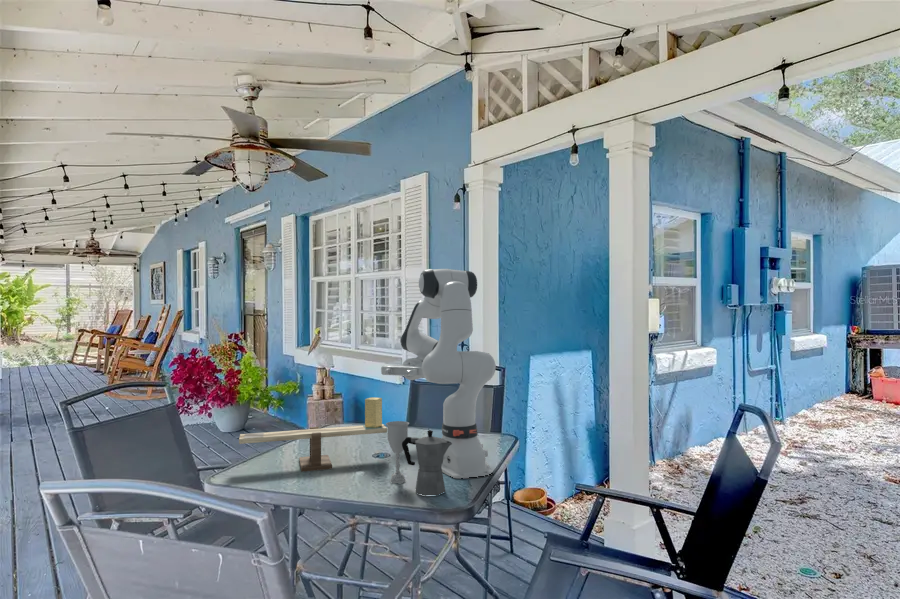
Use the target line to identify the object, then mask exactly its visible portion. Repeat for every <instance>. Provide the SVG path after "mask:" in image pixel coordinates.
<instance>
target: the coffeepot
mask: <svg viewBox="0 0 900 599" xmlns="http://www.w3.org/2000/svg"><path fill="white" fill-rule="evenodd" d="M408 444H411V445H415V450H416V456H417V462H418V471H417V476H416V483H415V489H416V490H415V494H416V493H418V494H422V495H439V494H441V493H443V492H445V493H446V487H445V481H444V473H443V472H442V463H443V457H444V454H445V453H446V451H447V449H448V447H449V446H450V445H452V443H451V442H449V441H446V440H444V439H443V438H442V437H437V436H434V435H433V430H429V429H428V430H427V436H424V437H414V436H413V437H411V436H408V437H406V439H405V440H404V441H403V442H402V447H403V452H404V456H405V459H406V462H407V464H408V465H409V466H415V464H416V462H414V461H412V456H411V454H410V450H409V446H408ZM418 494H417V495H418Z"/></svg>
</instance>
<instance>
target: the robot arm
mask: <svg viewBox="0 0 900 599" xmlns="http://www.w3.org/2000/svg"><path fill="white" fill-rule="evenodd" d="M418 288H419V291H420V294H422V296H424V297H423V299H422V300H421V299H420V300H419V301H417V303H416V304H415V305H414V307H413V310H412V311H411V314H410V317H409V318H408V322H407V325H406V327H405V329H404V331H403V333H402V335H401V337H400V346H401V348H402V349H403V350H404V351H407V352H409V353H412V354H414V355H416V357H411V358H407V359H406V360H404V361H403V363H402V364H385V365H381V368H380V372H381V375H383V376H400V377H402V376H403V377H404V378H405V379H406V380H409V381H414V380H420V379H425V380H426V381H427V382H429V383H433V384H440V385H449V384H453V385H454V384H459V386H458V388H457V390H456V391H455V392H452V394H449V395H448V396H447V397H446V398H445V399H444V401H443V404H442V406H443V407H442V408H443V409H442V412H443V414H442V416H443V417H442V419H443V420H442V423H441V434H442V436H441V438H443V439H444V440H446V441H449V442H451V443H452V445H450V446H449V447H448V449H447V451H446V453H445V454H444V457H443V463H442V473H443V474H445V475H447V476H449V477H450V476H451V478H452V477H453V479H461V478H463V479H470V478H469V477H477V478H479V477H478V476H484V477H486V476H485V475H488V476H490V475H489V474H491V473H492V472H493V473H494V470H493V469H492V467H491V466H490V464H488V463H489V462H488V461H486V458H487V457H488V456H489V452H488V449H484V444H483V443H481V442H480V439H479V437H478V435H479V433H478V427H477V423H476V407H477V401H478V400H477V399H478V397H479V394H480V392H481V390H482V389H483V387H484V386H485V385H486V384H487V383H488V382H490V381H491V380H492V378H493V377H494V375H495V373H496V368H497V367H496V361H495V359H494V357H493V356H492V354H490V353H488V352H484V351H478V350H473V351H472V350H463V351H459V350H458V345H459V344H460V343H462V342H464V341H466V340H468V339H469V338H470V337H471V336H472V334H473V331H474V328H473V327H474V326H473V313H472V312H473V311H472V302H471V301H472V300H471V298H473V297H474V296H475V294H476V293H477V291H478V290H477V289H478V278H477V276H476V274H475V273H474V272H473V271H469V270H465V269H464V270H459V269H450V268H438V269H437V268H436V269H432V268H429V269H424V270H423V271H422V272H421V273H420V276H419V278H418ZM422 319H429V320H438V319H440V334H439V337H438V338H439V339H438V340H437V339H435V338H434V337H432V336H430V335H427V334H426V333H424V332H422V331H421V330H420V329H419V326H420V324H421V322H422ZM491 475H492V474H491Z"/></svg>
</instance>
